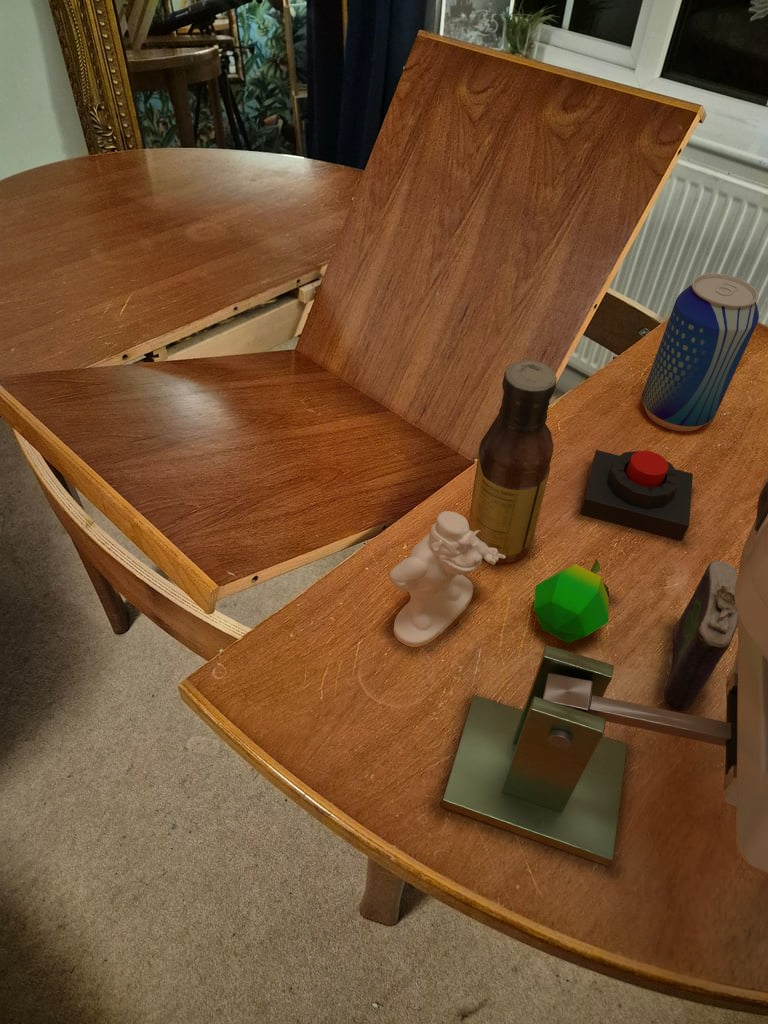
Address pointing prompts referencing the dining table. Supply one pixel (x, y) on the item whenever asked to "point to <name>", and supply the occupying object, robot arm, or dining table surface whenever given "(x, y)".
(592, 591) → the apple
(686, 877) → the dining table surface
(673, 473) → the control block
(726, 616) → the eggplant half
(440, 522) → the figurine
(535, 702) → the bracket
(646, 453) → the button
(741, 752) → the robot arm
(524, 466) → the sauce bottle
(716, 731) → the lever
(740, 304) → the beer can
